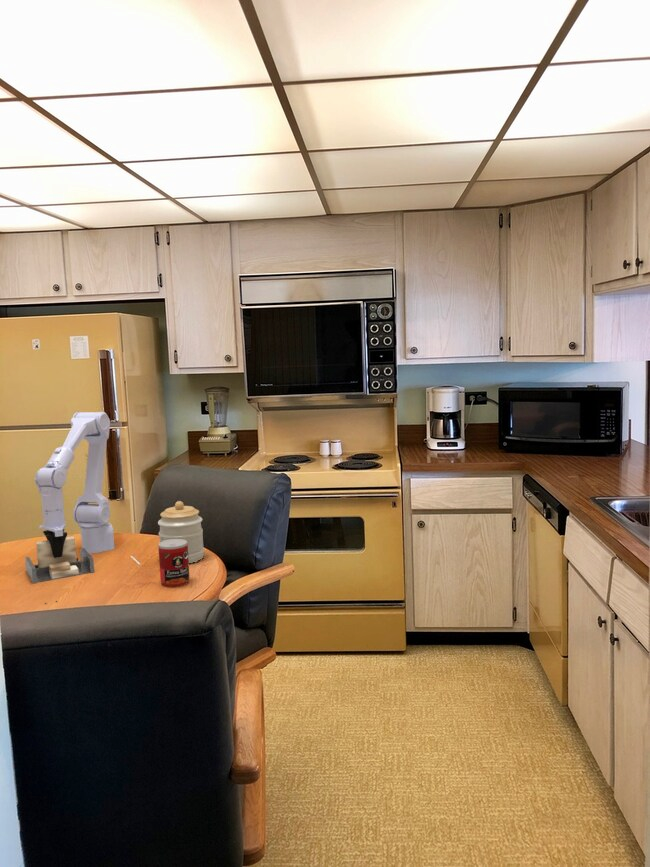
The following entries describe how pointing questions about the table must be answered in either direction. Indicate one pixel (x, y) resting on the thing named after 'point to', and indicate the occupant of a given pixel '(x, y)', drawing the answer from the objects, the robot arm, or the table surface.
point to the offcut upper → (59, 567)
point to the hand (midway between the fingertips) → (56, 555)
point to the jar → (183, 528)
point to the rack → (43, 575)
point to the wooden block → (47, 556)
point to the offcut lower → (65, 572)
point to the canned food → (173, 562)
